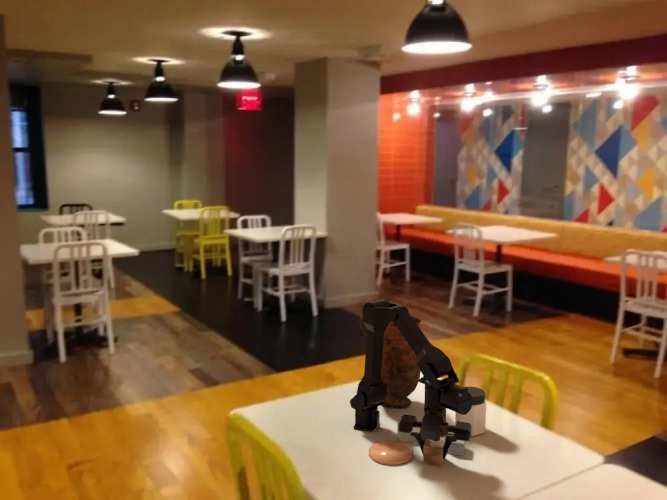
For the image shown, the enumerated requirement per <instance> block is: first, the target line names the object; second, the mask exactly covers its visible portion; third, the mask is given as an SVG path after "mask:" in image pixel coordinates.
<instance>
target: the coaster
mask: <svg viewBox="0 0 667 500" xmlns="http://www.w3.org/2000/svg"><path fill="white" fill-rule="evenodd" d="M368 456H369V458H370V459H371V460H372V461H374V462H375V463H379V464H382V465H387V466H388V465H389V466H397V465H404V464H406V463H408V462H409V461H411V460H412V458H413V450H412V448H411V447H410V446H409V445H407V444H405V443H404V442H398V441H392V440H391V441H390V440H388V441H387V440H386V441H379V442H376V443H374V444H372V445H371V446H370V447H369V448H368Z"/></svg>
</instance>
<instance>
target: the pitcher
mask: <svg viewBox="0 0 667 500" xmlns="http://www.w3.org/2000/svg"><path fill="white" fill-rule="evenodd" d="M410 315H411V314H410ZM411 317H412V318H413V320H414V321H415V322H416V324H417V325H418V327H420V323H421V322H422V319H421V318H418V317H416V316H413V315H411ZM358 329H359V331H360V333H361V334H362V335H363V336H364V337H365V338H366V339H367V331H366V330H365V328H364V327H363V316H360V318H359V321H358ZM421 374H422V372H421V371H420V369H419V367H418V365H417V356H416V354H415V353H414V351H413V350H412V348H411V347H410V345H409V344H408V342H407V341H406V340H405V338H404V337H403V335H402V334H401V332H400V331H399V330H398V328H397V327H396V325H395V324H394V322H393V321H390V323H389V325H388V326H387V328H386V329H385V332H384V343H383V356H382V368H381V378H382V380H383V381H384V383H386V384H387V396H385V399H384V400H383V403H382V405H381V406H382V407H384V408H387V409H401V410H402V409H407V408H409V407H410V406H412V400H411V399H410V398H409V396H410V395H411V394H413V393H414V392H415V390H416V389H417V386H418V384H419V383H420V382H419V379H421Z"/></svg>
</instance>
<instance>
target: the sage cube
mask: <svg viewBox="0 0 667 500" xmlns="http://www.w3.org/2000/svg"><path fill="white" fill-rule="evenodd" d="M398 424H399V422H397V425H396V426H397V430H396V431H397V437H398V438H399V440H400V441H401V442H400V443H404V442H411V441H412V442H413V441H415V440H416V438H415V437H414V436H411V435H410V433H411V432H410V433H404V432H399V431H398Z"/></svg>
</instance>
